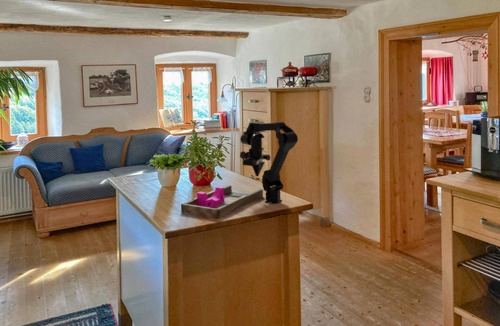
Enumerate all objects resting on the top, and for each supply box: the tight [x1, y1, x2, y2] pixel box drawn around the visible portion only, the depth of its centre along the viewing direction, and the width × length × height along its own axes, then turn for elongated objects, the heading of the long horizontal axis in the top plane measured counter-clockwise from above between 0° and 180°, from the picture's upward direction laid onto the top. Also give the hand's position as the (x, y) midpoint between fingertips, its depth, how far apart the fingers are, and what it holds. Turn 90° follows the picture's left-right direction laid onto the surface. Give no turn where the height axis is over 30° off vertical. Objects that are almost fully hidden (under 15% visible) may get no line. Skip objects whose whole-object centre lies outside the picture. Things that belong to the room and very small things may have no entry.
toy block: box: [196, 186, 225, 208], centre depth 223 cm, size 15×6×8 cm, turn 139°
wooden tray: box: [180, 184, 264, 220], centre depth 223 cm, size 21×40×4 cm, turn 149°
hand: (257, 176), depth 233 cm, fingers closed
